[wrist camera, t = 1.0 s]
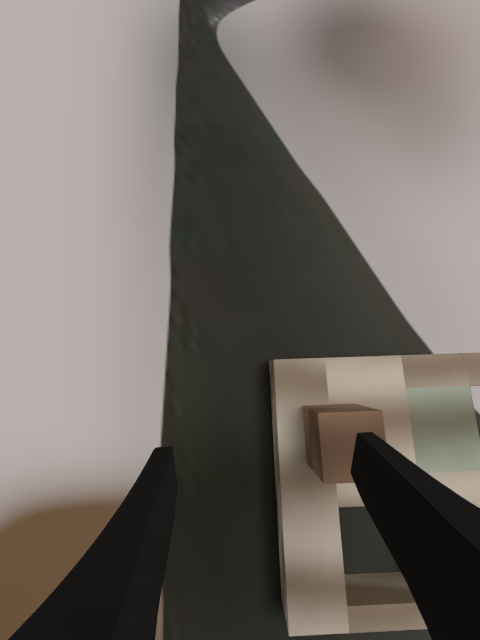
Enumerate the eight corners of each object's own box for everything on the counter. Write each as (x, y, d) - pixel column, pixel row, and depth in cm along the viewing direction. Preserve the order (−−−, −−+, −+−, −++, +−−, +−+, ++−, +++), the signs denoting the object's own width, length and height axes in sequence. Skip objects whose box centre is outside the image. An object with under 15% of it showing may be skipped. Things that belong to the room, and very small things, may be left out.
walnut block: (361, 460, 21) (391, 481, 17) (306, 462, 20) (323, 483, 17) (355, 403, 21) (382, 410, 17) (302, 405, 21) (317, 413, 17)
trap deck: (564, 585, 22) (615, 618, 19) (281, 600, 21) (289, 636, 18) (514, 352, 25) (551, 350, 22) (269, 361, 25) (273, 359, 22)
